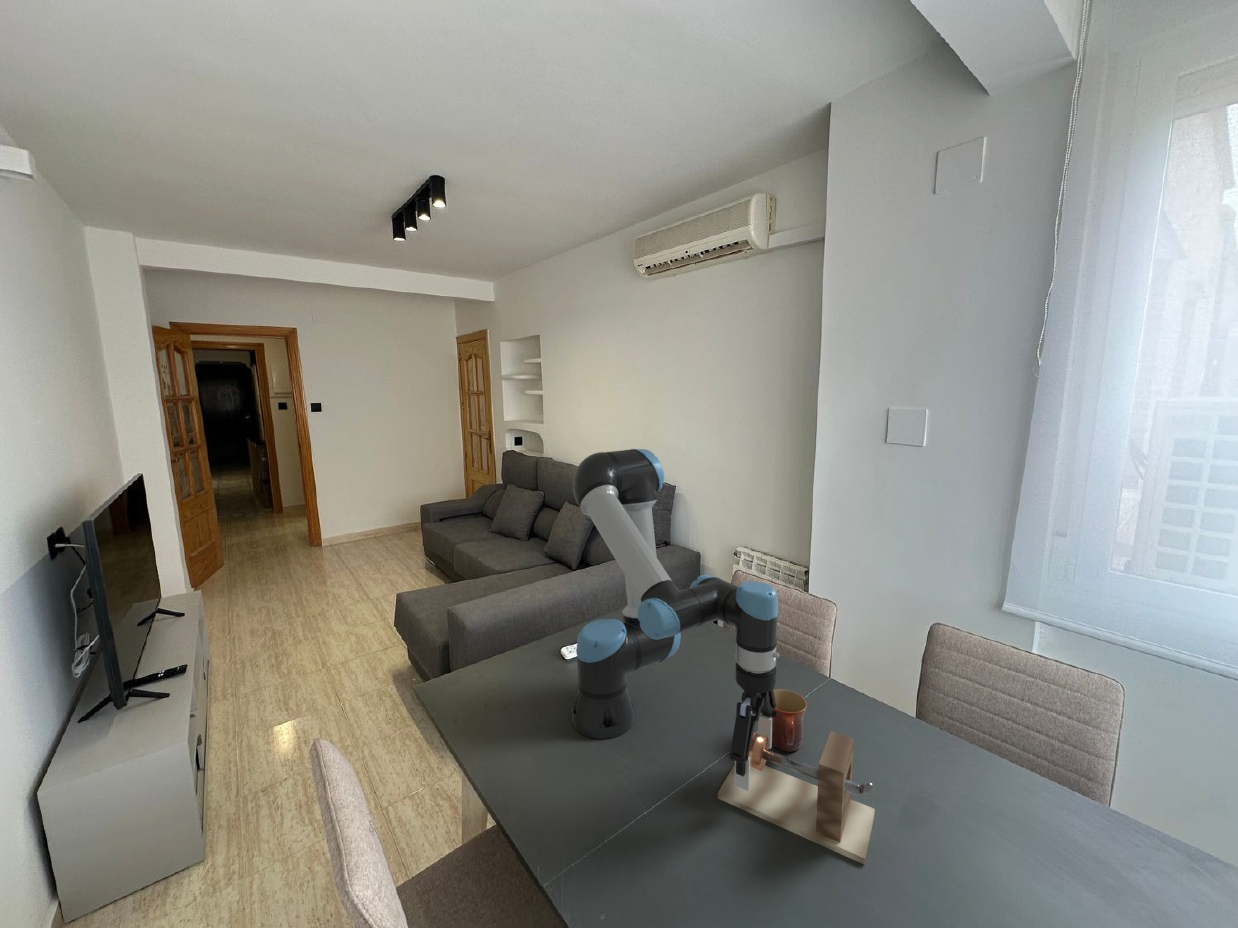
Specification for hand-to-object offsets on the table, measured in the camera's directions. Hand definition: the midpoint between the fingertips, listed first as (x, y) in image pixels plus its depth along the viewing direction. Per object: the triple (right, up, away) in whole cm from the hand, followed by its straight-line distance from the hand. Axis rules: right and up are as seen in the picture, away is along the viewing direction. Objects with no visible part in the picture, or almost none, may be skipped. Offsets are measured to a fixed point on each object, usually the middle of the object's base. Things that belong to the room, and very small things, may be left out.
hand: (753, 765), depth 100 cm
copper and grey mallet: (+8, 0, -5) cm, 9 cm away
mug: (+10, -4, +12) cm, 16 cm away
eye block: (+13, -5, -8) cm, 15 cm away
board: (+7, -6, -4) cm, 9 cm away
